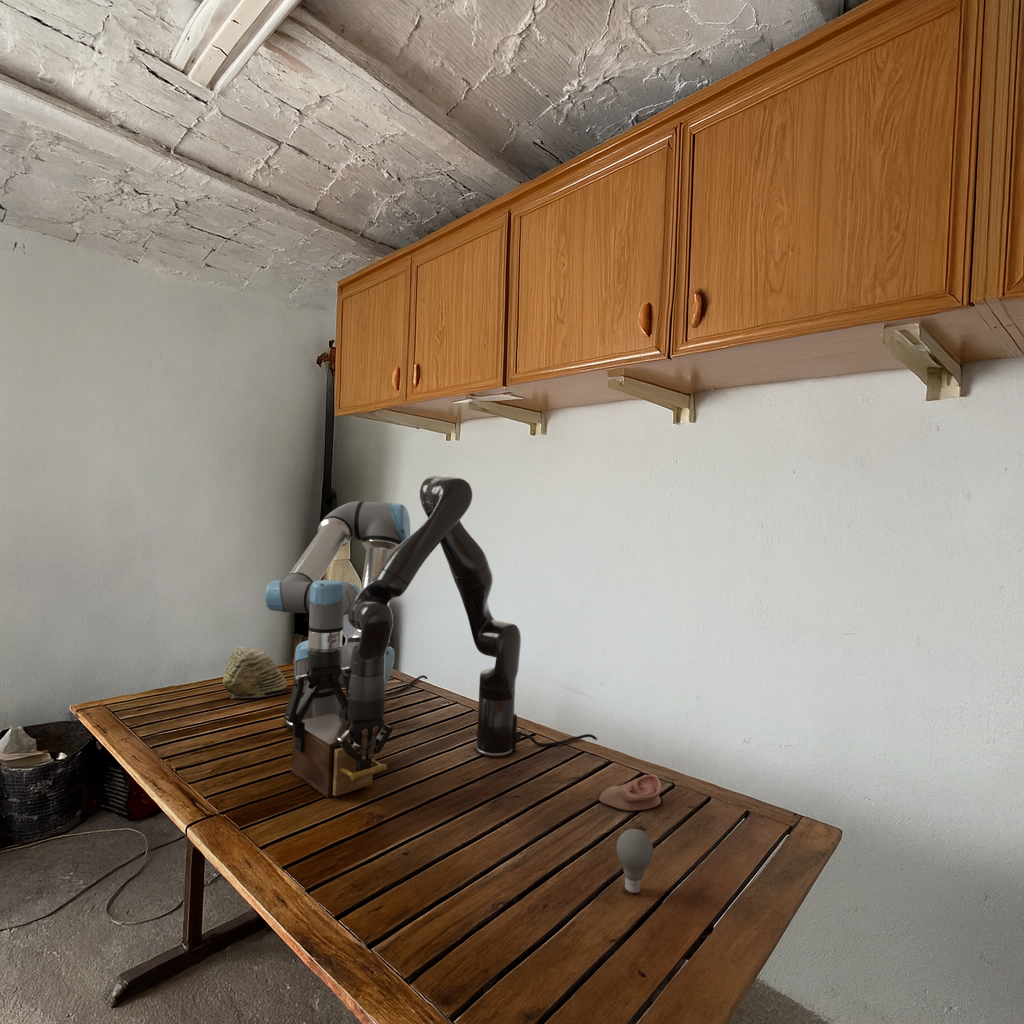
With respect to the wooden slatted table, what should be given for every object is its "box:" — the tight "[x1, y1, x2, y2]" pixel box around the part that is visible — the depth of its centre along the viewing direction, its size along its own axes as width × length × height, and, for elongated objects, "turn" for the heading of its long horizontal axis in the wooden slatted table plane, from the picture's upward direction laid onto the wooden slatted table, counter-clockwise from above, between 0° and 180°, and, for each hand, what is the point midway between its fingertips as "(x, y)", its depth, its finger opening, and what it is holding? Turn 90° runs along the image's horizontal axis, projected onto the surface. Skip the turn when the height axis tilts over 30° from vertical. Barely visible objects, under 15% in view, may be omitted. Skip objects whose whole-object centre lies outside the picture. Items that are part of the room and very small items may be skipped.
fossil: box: [222, 646, 288, 699], centre depth 198 cm, size 9×18×15 cm, turn 132°
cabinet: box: [290, 713, 353, 799], centre depth 143 cm, size 17×10×11 cm, turn 45°
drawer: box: [331, 741, 388, 797], centre depth 139 cm, size 21×9×10 cm, turn 45°
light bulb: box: [615, 828, 654, 894], centre depth 106 cm, size 6×6×10 cm
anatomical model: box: [598, 774, 663, 812], centre depth 139 cm, size 13×4×12 cm
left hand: (321, 744), depth 146 cm, fingers closed on cabinet, 10 cm apart
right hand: (363, 775), depth 133 cm, fingers closed
